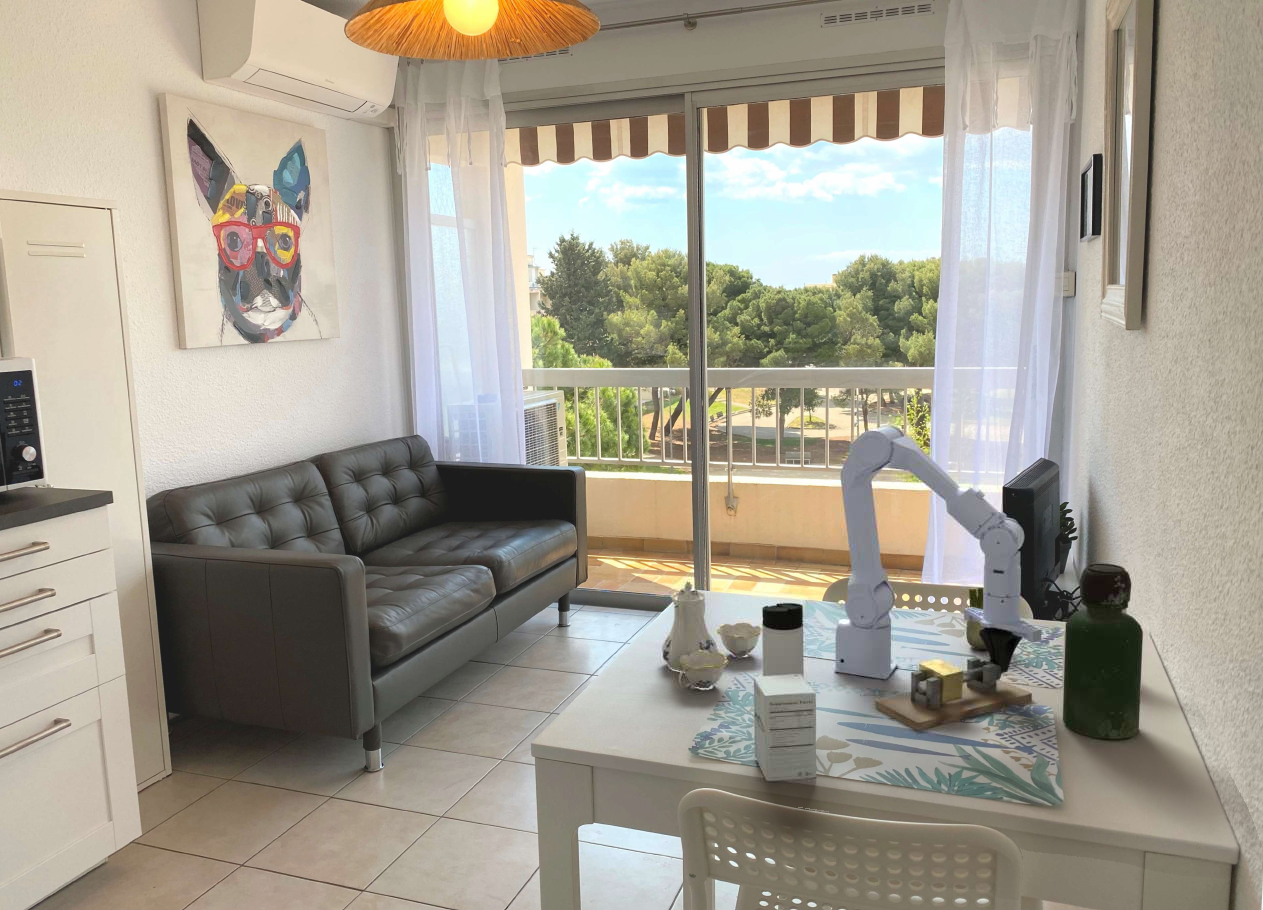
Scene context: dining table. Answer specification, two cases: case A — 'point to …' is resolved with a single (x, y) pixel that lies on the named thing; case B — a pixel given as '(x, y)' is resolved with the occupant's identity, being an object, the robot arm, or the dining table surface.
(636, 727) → the dining table surface
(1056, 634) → the dining table surface
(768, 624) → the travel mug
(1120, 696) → the green bottle
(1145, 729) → the dining table surface
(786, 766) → the supplement box
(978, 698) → the shaft bracket
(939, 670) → the spacer
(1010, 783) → the dining table surface
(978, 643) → the fennel bulb
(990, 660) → the shaft
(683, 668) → the chinaware
